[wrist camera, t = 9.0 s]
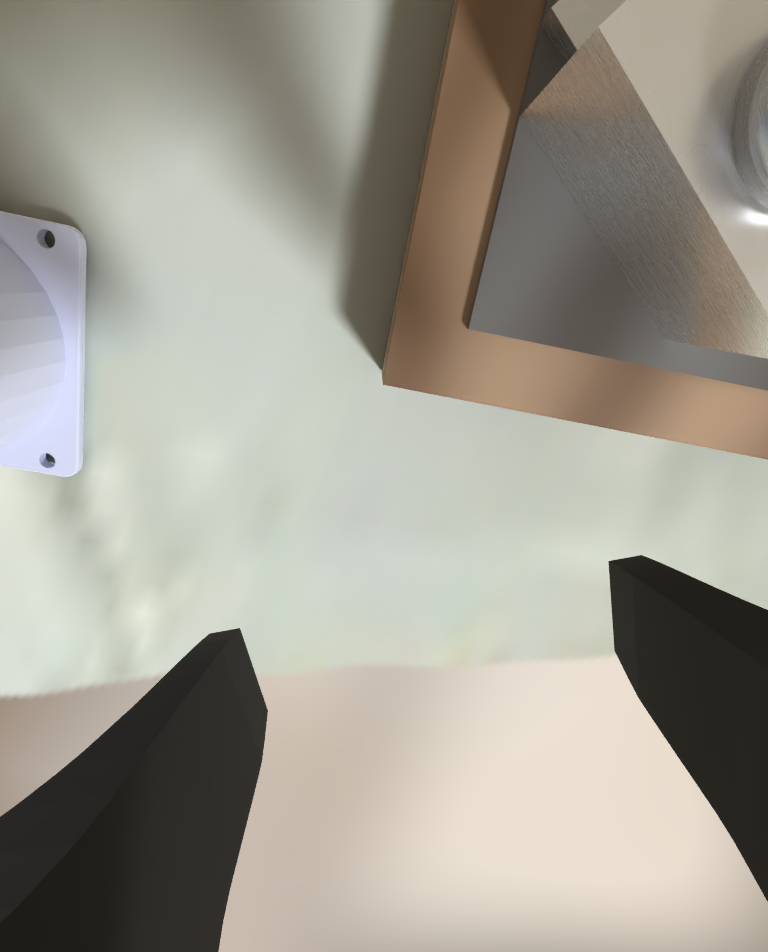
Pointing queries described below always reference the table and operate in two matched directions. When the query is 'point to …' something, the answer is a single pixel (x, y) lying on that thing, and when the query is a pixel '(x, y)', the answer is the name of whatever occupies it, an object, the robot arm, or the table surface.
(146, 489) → the table surface
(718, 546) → the table surface
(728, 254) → the housing
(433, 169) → the stand
